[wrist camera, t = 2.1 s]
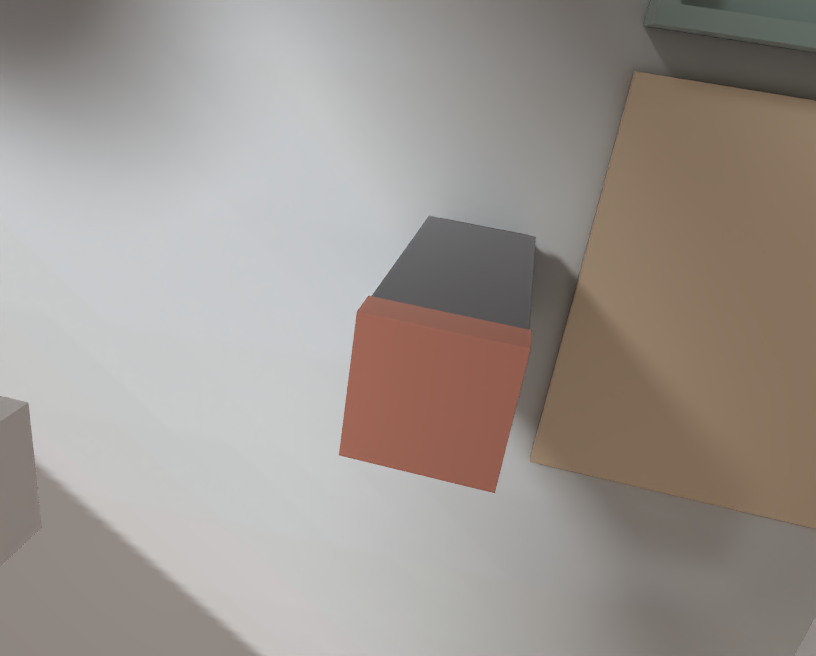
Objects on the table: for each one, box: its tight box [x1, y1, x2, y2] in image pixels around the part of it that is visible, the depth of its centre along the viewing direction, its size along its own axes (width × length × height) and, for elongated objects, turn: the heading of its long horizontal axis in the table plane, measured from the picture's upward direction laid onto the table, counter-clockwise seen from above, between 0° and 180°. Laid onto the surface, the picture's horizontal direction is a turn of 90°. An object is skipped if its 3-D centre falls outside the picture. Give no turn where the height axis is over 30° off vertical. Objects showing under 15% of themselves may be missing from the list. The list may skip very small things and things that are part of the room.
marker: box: [339, 216, 536, 493], centre depth 21 cm, size 4×4×11 cm
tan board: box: [530, 71, 816, 529], centre depth 25 cm, size 14×16×1 cm
